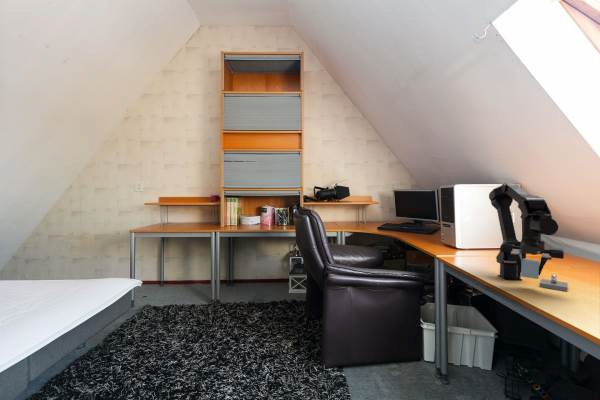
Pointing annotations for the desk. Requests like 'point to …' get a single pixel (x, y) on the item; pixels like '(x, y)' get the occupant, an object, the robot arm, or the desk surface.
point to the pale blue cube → (530, 268)
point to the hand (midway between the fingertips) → (530, 273)
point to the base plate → (554, 284)
